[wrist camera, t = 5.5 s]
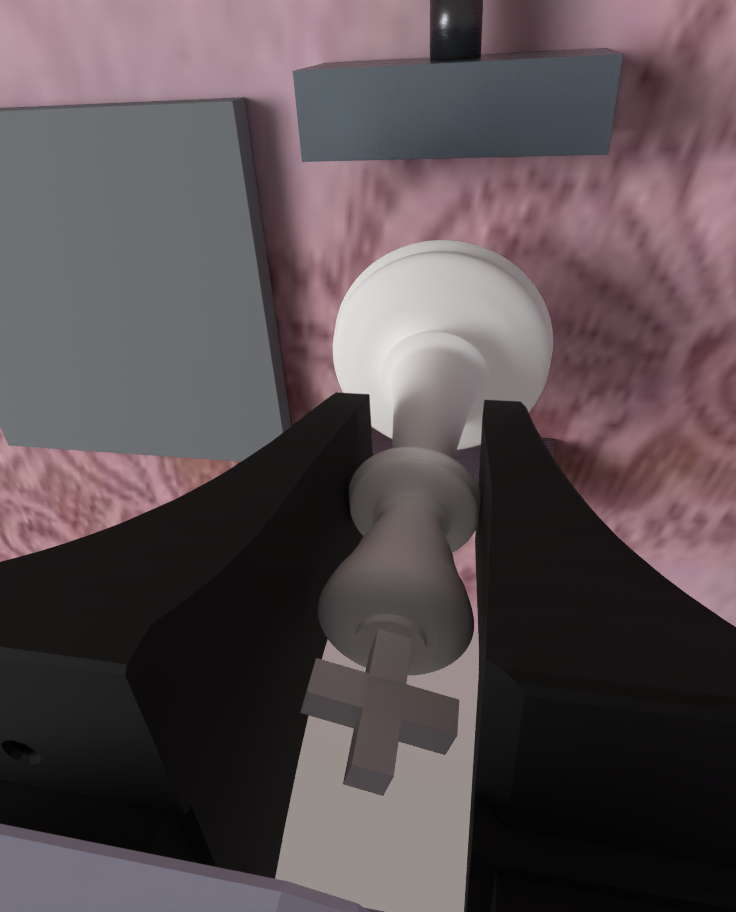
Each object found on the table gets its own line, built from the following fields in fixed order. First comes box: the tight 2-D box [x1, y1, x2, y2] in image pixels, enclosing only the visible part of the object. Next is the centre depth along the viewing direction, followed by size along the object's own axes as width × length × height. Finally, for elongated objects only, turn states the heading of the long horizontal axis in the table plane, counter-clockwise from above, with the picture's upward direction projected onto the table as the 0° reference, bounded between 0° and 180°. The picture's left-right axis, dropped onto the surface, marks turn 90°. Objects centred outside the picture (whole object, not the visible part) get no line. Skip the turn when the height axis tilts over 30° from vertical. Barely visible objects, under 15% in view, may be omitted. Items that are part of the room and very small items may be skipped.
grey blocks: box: [293, 0, 623, 531], centre depth 15 cm, size 6×13×2 cm, turn 3°
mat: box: [0, 97, 291, 461], centre depth 18 cm, size 10×10×1 cm
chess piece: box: [300, 240, 553, 796], centre depth 10 cm, size 5×5×10 cm
